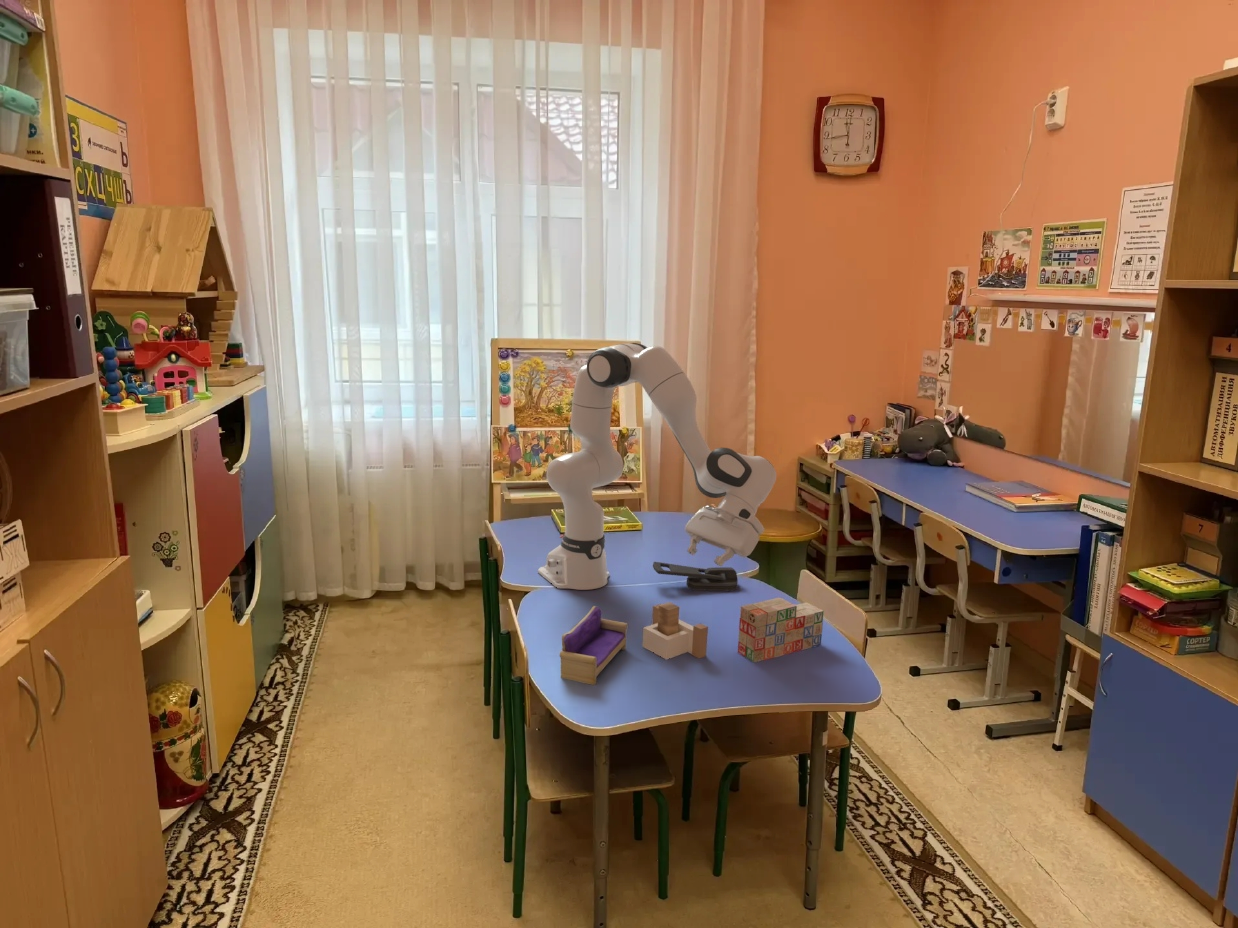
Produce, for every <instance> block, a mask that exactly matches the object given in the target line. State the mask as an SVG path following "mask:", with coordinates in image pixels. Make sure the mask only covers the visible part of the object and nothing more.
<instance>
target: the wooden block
mask: <svg viewBox="0 0 1238 928" xmlns="http://www.w3.org/2000/svg"><path fill="white" fill-rule="evenodd" d="M679 620H680V606H678V605H677V604H674V603H672V602H669V601H668V602H665V603H662V604H661V605H659V610H658V631H659V632H660V633H662V634H664V635H666V636H670V635H673V634H676V633H678V623H679Z"/></svg>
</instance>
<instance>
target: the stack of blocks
mask: <svg viewBox="0 0 1238 928" xmlns="http://www.w3.org/2000/svg"><path fill="white" fill-rule="evenodd" d="M824 612H825V611H824V610H823V609H821V608H818V607H817V606H815V605H813V604H810V603H809V602H803V603H798V604H794V603H792V602H790V601H788V600H786V599H784V598H782V597H775V598H772V599H767V600H762V601H757V602H753V603H749V604H743V605H741V606H740V617H739V623H738V624H739V625H738V642H737V644H738V645H737V653H738V654H740V655H741V656H743V657H745V658H746V659H747V660H749V661H751V662H752V663H757V661H758V662H760V661H761V660H762V661H765V660H770V659H773V658H778V657H781V656H784V655H788V654H792V653H796V652H799V651H803V650H807V649H811V648H815V647H820V646H822V637H823V634H822V633H823V628H824V627H823V625H824Z"/></svg>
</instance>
